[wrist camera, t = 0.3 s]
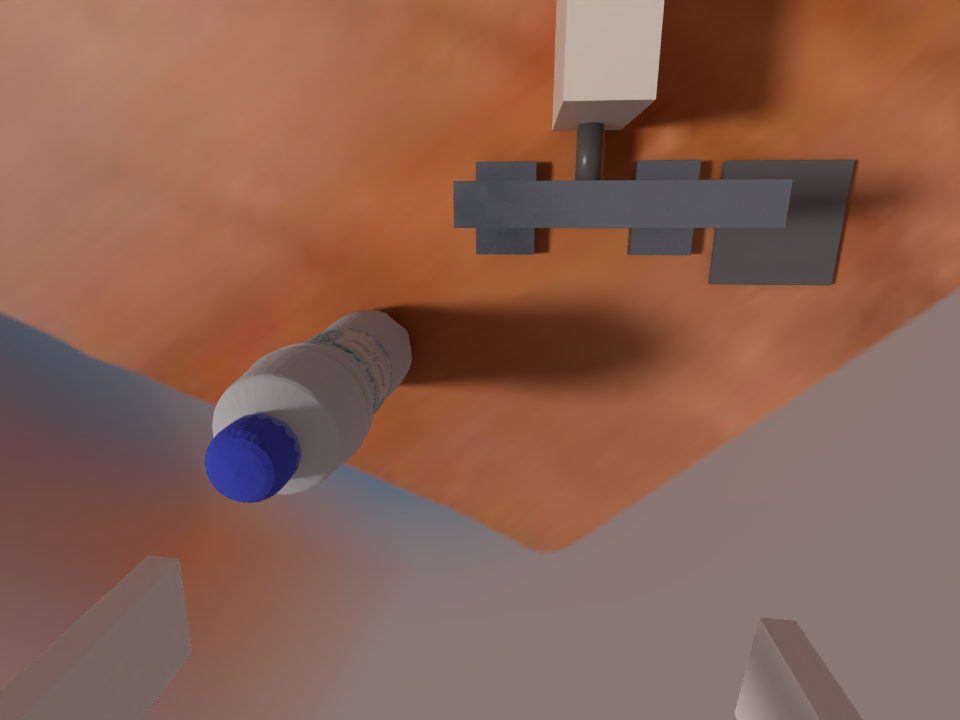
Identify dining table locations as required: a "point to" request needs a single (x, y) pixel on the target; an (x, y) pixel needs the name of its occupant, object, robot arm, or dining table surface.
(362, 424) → the bottle
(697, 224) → the blue-grey arch stand
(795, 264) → the mat
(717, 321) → the dining table surface
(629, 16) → the white block
